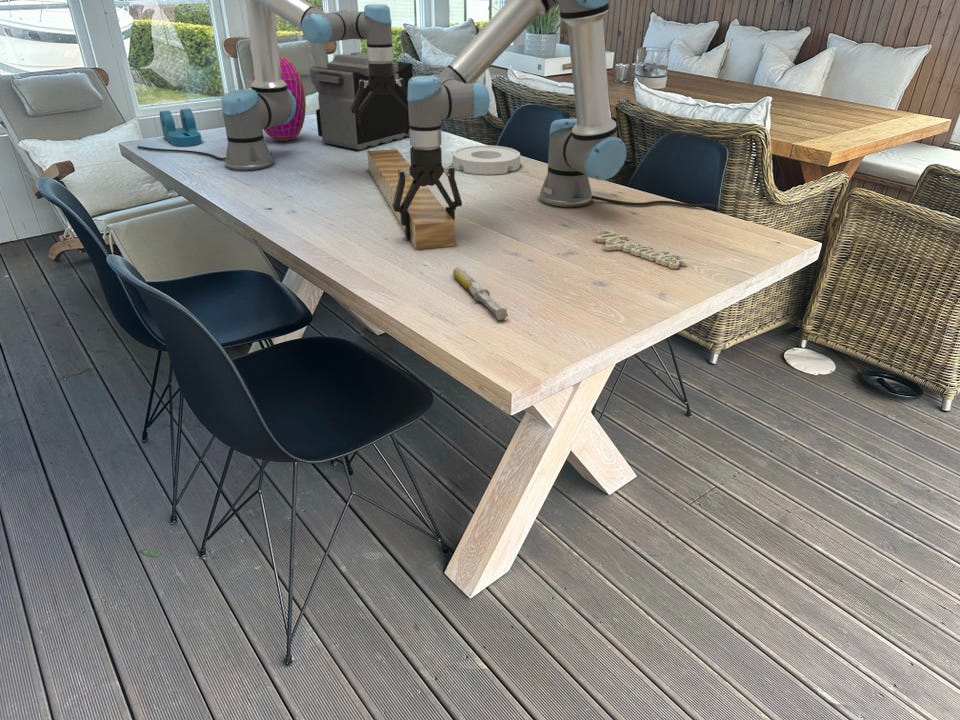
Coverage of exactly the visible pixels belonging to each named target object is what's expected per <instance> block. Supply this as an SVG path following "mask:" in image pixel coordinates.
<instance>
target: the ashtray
mask: <svg viewBox="0 0 960 720" xmlns="http://www.w3.org/2000/svg"><path fill="white" fill-rule="evenodd" d="M451 154H452V155H451V156H452V161H451V162H452V167H453V168H454V170H457V171H463V173H466V174H474V175H485V176H486V175H502V174H507V173H508V172H515V171H517V170H519V169H520V166H521V153H520V151H518V150H516V149H514V148H512V147H507V146H500V145H487V144H486V145H468V146H464V147H459V148H456V149H454V150H453V151H452V153H451Z"/></svg>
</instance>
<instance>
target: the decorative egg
mask: <svg viewBox="0 0 960 720" xmlns="http://www.w3.org/2000/svg"><path fill="white" fill-rule="evenodd" d="M279 60H280V69H281V78H282V80H283V81H284V82H285V83H286V84H287V89H288V90H290V91H291V93H292V96H294V98H295V101H296V112H295V115H294V117H293V118H292V119H291V120H290V121H289V122H287V123H284V124H283V125H280V126H273V127H269V128H265V129H263V132H264V133H266V135H267V136H268V137H270V138H271V139H273V140H275V141H282V142H286V141H291V140H293V139H296V138H297V137H298V136H299V134H301V131H302V129H303V127H304V123H305V118H306V104H307V103H306V102H307V101H306V99H307V97H306V93H305V88H304V84H303V81H302V77H301V75H300V73H299V71H298V69H297V67H296V66H295V65H294V63H293V62H292V61H291V60H290V59H288V58H287V57H285V56H282V55H280V54H279ZM254 80H255V74H254V71H253V73H252V77H251V84H252V83H253V82H254Z"/></svg>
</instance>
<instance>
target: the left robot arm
mask: <svg viewBox="0 0 960 720" xmlns="http://www.w3.org/2000/svg"><path fill="white" fill-rule="evenodd" d="M244 2H245V10H246V18H247V26H248V34H249V43H250V48H251V56H252V65H253V72H254V74H255V80H254V82H253V83H252V82H251V84H250V87H251V88H241V89H235V90H231V91H228V92H226V93H224V94H223V95H222V97H221V100H220V102H221V113H222V117H223V123H224V127H225V134H226V139H227V147H226V153H225V157H221V156H217V155H214V154H212V153H209V152H204V151H196V150H187V149H174V148H173V149H171V148H153V147H147V146H142V145H137V148H138V149H142V150H147V151H156V152H176V153H188V154H189V153H190V154H198V155H204V156H208V157H211V158H214V159H216V160H220V161H225V167H226V168H227V169H229V170H234V171H257V170H261V169H267V168H269V167H271V166H272V165H274V161H273V153H272V152H270V150H269V148H268V146H267V144H266V142H265V137H264V136H265V135H264V130H263V129H265V128H269V127H273V126H280V125H283V124H284V123H287V122H289V121H290V120H291V119H292V118H293V117H294V115H295V112H296V101H295V98H294V96H292V93H291V91H290V90H288V89H287V84H286V83H285V82H284V81H283V80H282V78H281V69H280V60H279V55H280V50H279V42H278V33H277V23H276V16H279V17H280V18H281V19H284V20H285V21H286V22H288V23H289V24H291V25H293V26H294V27H296V28H298V29H299V30H301V33H302V35H303V36H304V38H305V39H306V41H308V42H309V43H311V44H317V45H318V44H319V45H322V44H327V43H333V42H339V41H341V42H342V41H347V40H348V41H349V40H363V41H366V47H367V49H366V51H367V53H368V61H370V63H369V64H368V67H369V80H368V81H363V80H359V88H358V91H357V94H356V96H355V99H354V101H353V104H352V107H351V112H352V113H355V114H357V121H358V125H359V126H360V125H361V127H362V136H363V137H366V133H365V120H364V114H362V112H363V111H364V110H365V108H366V107H367V105H368V104H369V102H370V101H371V100H372V98H373V97H374V96H375V94H376V95H378V96H379V95H389V94H390V93H391V94H392V95H393V96H394V97H395V98H396V99H397V101H398V102H399V103H400V104H401V105H402V106H403V107H404V109H405V110H406V111H403V112H404V132H405V134H409V133H408V123H409V110H408V106H407V105H406V103H405V102H404V101H403V100H402V99H401V98H400V97H399V95H398V94H397V93H396V92H395V91H394V90H393V88H394V87H395V85H396V84H398V86H400V87H401V89H402V91H403V93H404V94H405V96H406V98H407V97H408V90H407V88H406V86H405V80H404V79H403V78H400V79H397V80H395V78H394V66H393V63H392V62H391V61H394V53H393V52H394V51H393V39H392V38H393V37H392V16H391V8H390V7H389V5H387V4H381V3H380V4H379V3H378V4H377V3H375V4H374V3H373V4H372V3H371V4H365V5H364V8H363V11H354V10H343V9H342V10H335V11H334V12H325V11H323V10H321V9H320V8H317V6H315V5H313V4H311V2H308V1H307V0H244ZM367 85H369V86H370V88H371V90H370V92H369V94H368V95H367V97H366V98H365V99H364V101H363V102H362V104H361V105H360V107H359V108H358V109H357V106H358V104H359V101H360V99H361V96H362V93H363V91H364V88H366V86H367Z"/></svg>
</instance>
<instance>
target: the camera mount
mask: <svg viewBox="0 0 960 720" xmlns="http://www.w3.org/2000/svg"><path fill="white" fill-rule="evenodd" d="M179 115H180V122H181V127H176V123H175V120H174V117H173V114H172V112H171V111H170V110H160V111H159V121H160V126H161V130H162V135H163V139H165V140H166V141H167V142H168V143H170V144H171V145H173V146H176V147H192V146H197V145H200V144H202V143H203V140H202V135H201V132H199V131H198V128H197V123H196V119H195V115H194V113H193V111H192V109H191V108H181V109H180V110H179Z"/></svg>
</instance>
